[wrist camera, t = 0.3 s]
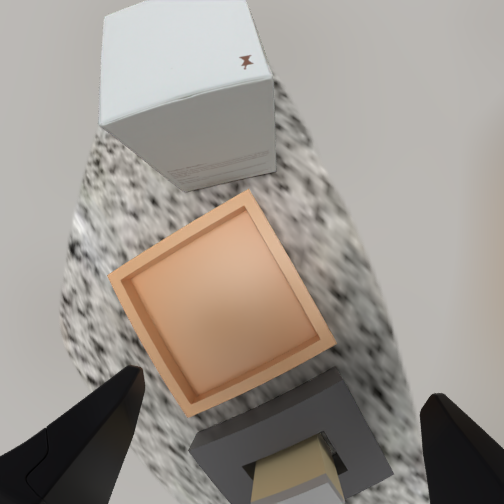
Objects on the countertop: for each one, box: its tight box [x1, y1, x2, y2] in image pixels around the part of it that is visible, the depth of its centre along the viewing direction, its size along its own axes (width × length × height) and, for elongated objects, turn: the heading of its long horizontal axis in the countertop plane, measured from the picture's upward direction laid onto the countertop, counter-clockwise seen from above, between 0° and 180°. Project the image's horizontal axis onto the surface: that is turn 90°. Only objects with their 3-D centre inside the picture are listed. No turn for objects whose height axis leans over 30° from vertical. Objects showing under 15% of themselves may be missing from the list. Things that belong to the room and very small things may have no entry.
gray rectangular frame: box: [188, 367, 394, 504], centre depth 21 cm, size 10×12×3 cm
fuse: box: [251, 433, 346, 504], centre depth 18 cm, size 3×5×8 cm, turn 120°
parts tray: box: [107, 189, 337, 418], centre depth 22 cm, size 12×12×2 cm
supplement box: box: [98, 0, 276, 192], centre depth 18 cm, size 7×7×13 cm
